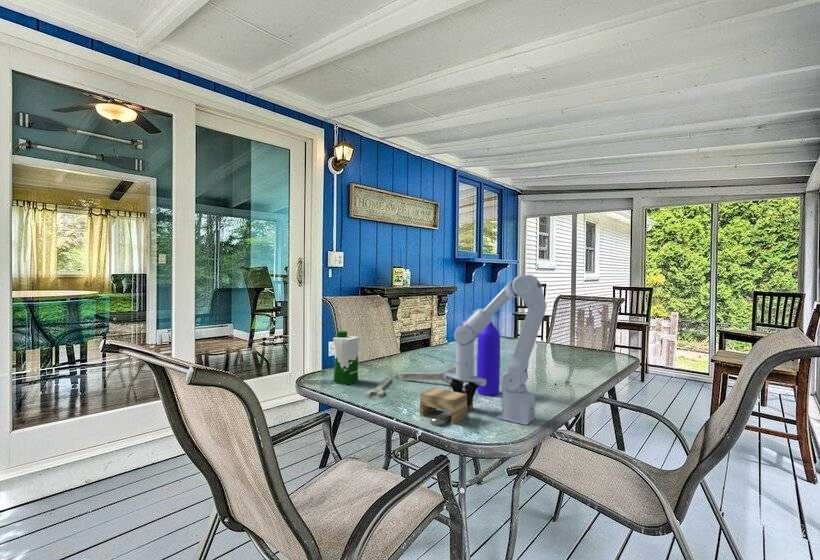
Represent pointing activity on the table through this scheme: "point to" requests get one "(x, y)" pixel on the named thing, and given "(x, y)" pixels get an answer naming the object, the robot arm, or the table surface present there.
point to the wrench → (426, 376)
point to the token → (438, 420)
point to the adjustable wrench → (379, 388)
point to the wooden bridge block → (444, 403)
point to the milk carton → (346, 358)
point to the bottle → (489, 360)
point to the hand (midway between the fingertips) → (464, 404)
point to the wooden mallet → (448, 413)
